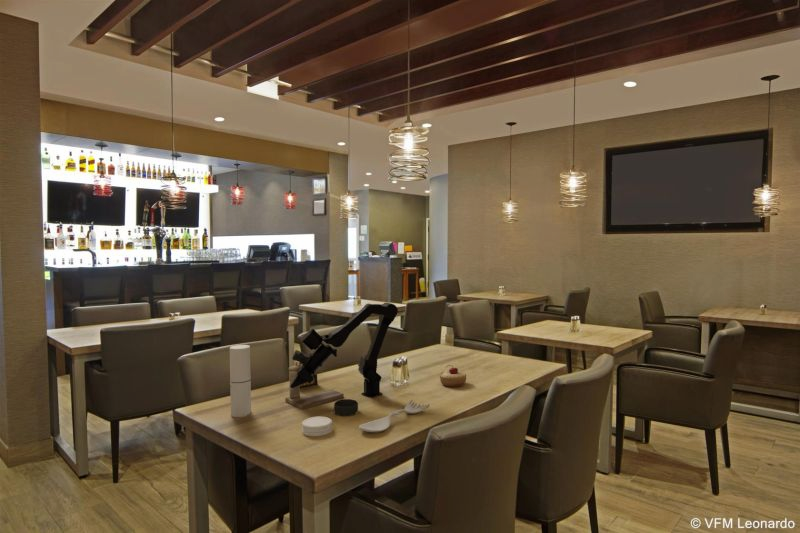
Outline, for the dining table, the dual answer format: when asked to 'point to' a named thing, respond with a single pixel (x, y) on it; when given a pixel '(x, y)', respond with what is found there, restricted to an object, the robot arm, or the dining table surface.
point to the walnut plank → (317, 399)
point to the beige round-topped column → (296, 390)
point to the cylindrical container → (240, 380)
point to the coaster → (317, 426)
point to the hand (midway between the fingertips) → (291, 385)
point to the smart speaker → (346, 407)
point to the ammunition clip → (307, 382)
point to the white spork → (385, 422)
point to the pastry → (453, 378)
